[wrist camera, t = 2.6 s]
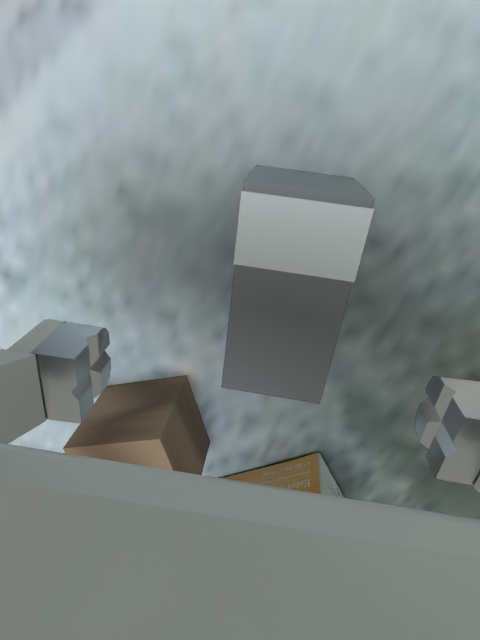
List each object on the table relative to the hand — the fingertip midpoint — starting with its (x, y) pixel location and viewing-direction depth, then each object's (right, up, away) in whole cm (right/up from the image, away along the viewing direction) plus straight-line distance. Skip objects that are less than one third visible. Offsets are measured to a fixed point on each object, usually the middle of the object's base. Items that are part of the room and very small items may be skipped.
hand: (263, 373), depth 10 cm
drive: (+2, +4, +8) cm, 9 cm away
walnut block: (-5, -4, +14) cm, 15 cm away
